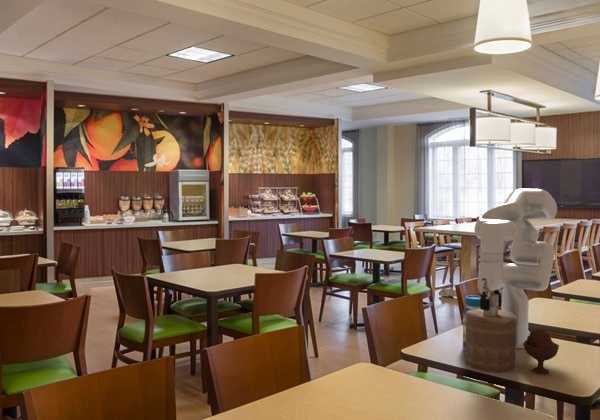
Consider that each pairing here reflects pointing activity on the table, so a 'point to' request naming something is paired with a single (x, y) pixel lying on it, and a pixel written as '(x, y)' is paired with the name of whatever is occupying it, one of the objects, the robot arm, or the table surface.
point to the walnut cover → (491, 338)
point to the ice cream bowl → (540, 348)
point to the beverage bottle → (471, 303)
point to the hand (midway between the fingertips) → (490, 307)
